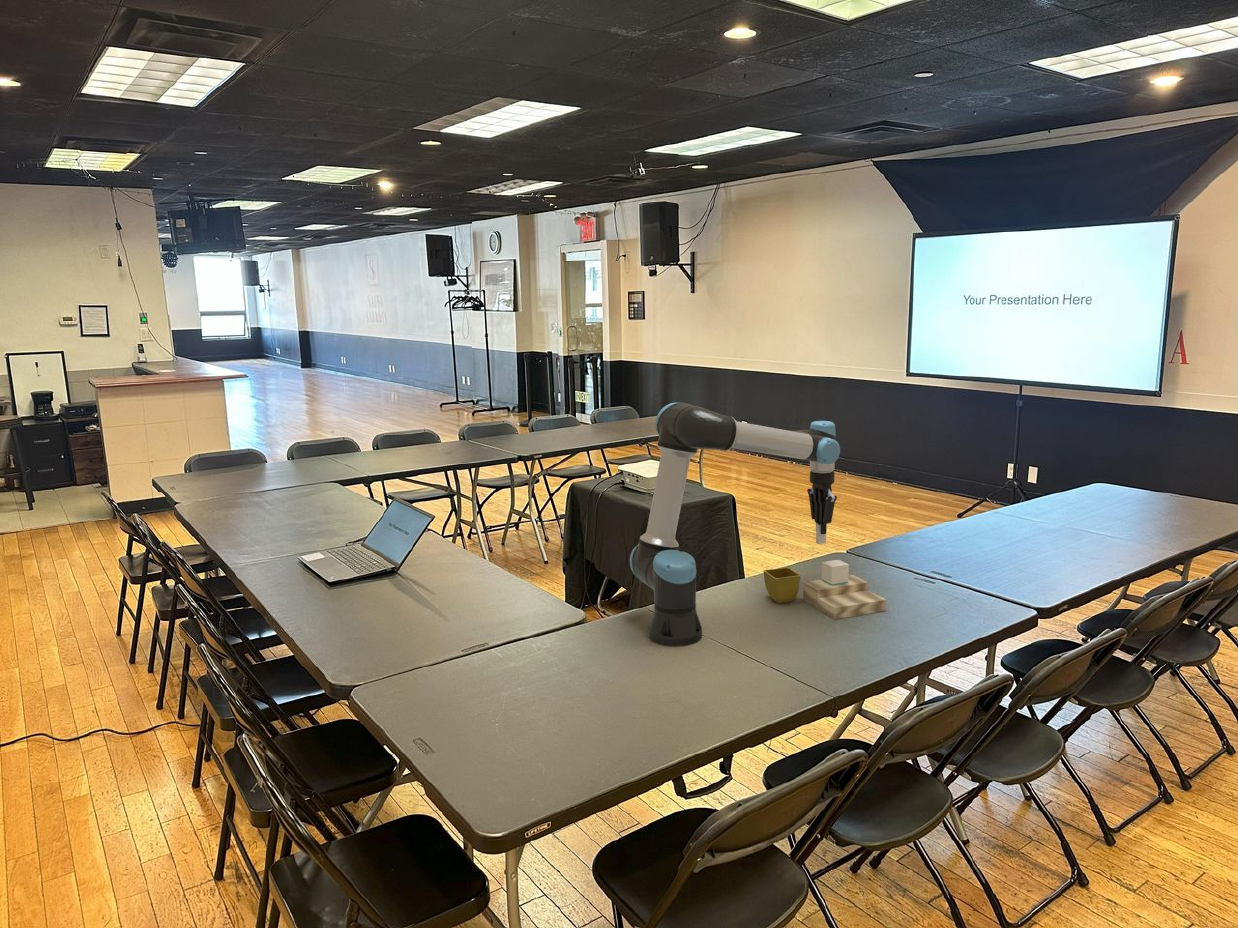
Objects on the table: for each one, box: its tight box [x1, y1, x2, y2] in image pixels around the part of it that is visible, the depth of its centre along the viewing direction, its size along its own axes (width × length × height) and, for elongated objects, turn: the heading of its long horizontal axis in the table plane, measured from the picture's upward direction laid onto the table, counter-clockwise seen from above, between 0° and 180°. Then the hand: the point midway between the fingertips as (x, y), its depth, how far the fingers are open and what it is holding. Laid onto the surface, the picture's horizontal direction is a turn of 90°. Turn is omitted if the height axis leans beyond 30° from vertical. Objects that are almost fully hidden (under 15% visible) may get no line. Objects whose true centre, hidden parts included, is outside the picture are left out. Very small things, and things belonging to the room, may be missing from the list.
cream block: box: [820, 559, 850, 586], centre depth 248 cm, size 6×6×6 cm
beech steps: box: [802, 574, 887, 620], centre depth 244 cm, size 18×17×6 cm
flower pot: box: [762, 566, 801, 604], centre depth 250 cm, size 9×9×9 cm
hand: (820, 542), depth 255 cm, fingers closed
